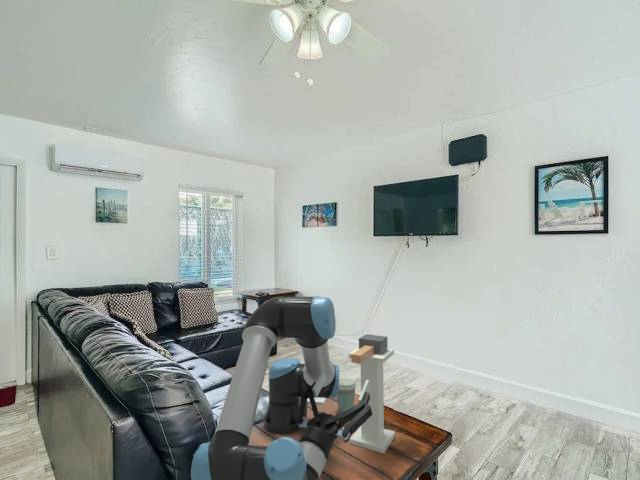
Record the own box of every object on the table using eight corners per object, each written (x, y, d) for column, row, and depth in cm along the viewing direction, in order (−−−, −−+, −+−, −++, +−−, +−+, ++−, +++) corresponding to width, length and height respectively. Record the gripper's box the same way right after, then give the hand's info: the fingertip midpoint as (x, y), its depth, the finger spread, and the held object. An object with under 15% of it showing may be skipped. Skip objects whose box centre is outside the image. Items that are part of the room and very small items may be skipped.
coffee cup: (336, 406, 142) (335, 377, 143) (356, 407, 141) (356, 378, 141) (334, 416, 134) (333, 385, 134) (355, 417, 133) (355, 386, 133)
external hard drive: (327, 393, 156) (324, 406, 144) (310, 392, 158) (305, 404, 145) (327, 390, 156) (324, 402, 144) (310, 389, 158) (305, 400, 145)
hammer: (367, 365, 104) (367, 350, 104) (344, 361, 108) (344, 346, 108) (387, 349, 120) (387, 336, 121) (366, 346, 124) (366, 334, 124)
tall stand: (383, 453, 109) (382, 358, 110) (349, 443, 115) (348, 353, 116) (394, 435, 119) (393, 349, 120) (363, 427, 125) (362, 345, 126)
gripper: (273, 446, 86) (310, 380, 103) (366, 478, 74) (391, 397, 90) (264, 427, 83) (304, 362, 100) (359, 456, 71) (386, 377, 87)
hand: (345, 378), depth 95 cm, fingers open, 13 cm apart
